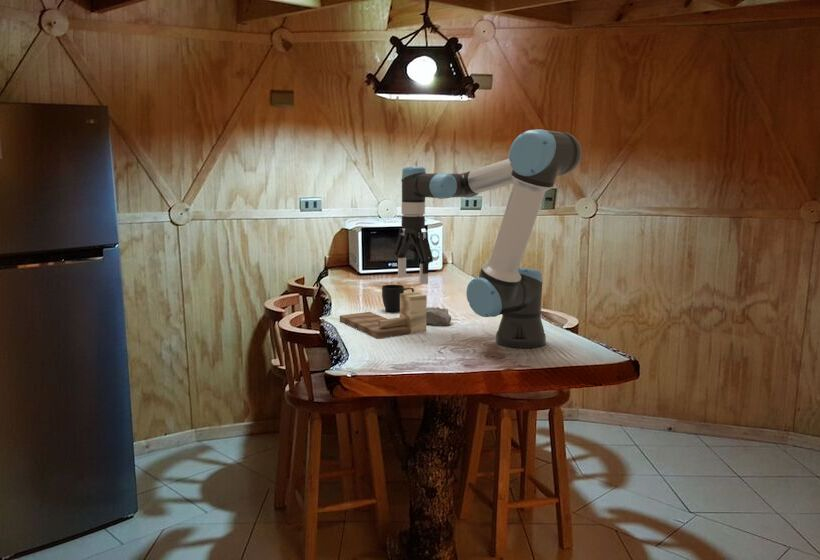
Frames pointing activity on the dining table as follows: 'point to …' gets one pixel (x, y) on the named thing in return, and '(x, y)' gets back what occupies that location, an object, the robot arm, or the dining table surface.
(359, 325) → the board
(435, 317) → the stone
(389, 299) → the mug
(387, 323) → the beige block with bar
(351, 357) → the dining table surface
